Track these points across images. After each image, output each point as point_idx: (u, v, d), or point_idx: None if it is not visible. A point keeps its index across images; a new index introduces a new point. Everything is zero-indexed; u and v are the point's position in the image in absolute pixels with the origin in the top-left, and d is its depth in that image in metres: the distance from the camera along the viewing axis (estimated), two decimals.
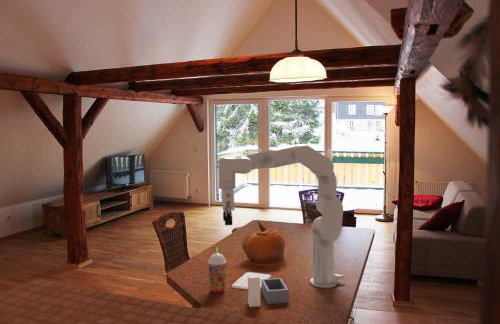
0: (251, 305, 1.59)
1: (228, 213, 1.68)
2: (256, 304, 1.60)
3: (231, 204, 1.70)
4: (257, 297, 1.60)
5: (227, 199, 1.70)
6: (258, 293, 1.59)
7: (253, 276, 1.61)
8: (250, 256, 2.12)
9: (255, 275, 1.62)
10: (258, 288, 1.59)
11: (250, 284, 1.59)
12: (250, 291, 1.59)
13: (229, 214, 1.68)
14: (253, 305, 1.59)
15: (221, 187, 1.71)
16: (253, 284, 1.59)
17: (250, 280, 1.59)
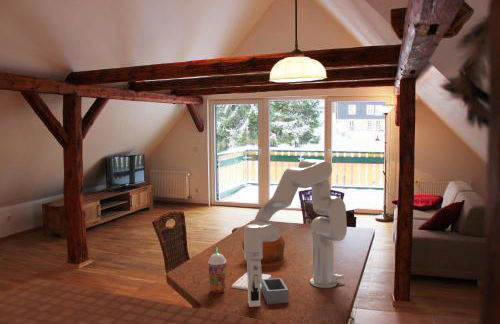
0: (251, 305, 1.59)
1: (254, 289, 1.57)
2: (256, 304, 1.60)
3: (258, 281, 1.56)
4: None
5: (254, 272, 1.56)
6: None
7: None
8: None
9: None
10: None
11: (250, 284, 1.59)
12: (250, 291, 1.59)
13: (256, 290, 1.57)
14: (253, 305, 1.59)
15: (247, 258, 1.58)
16: None
17: None
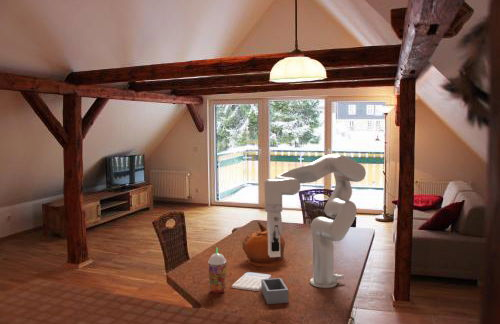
0: (271, 255, 1.66)
1: (275, 239, 1.63)
2: (276, 255, 1.66)
3: (279, 231, 1.63)
4: None
5: (275, 223, 1.62)
6: None
7: None
8: (250, 256, 2.12)
9: None
10: None
11: (271, 235, 1.65)
12: (270, 242, 1.65)
13: (276, 240, 1.63)
14: (273, 256, 1.66)
15: (268, 210, 1.64)
16: None
17: None
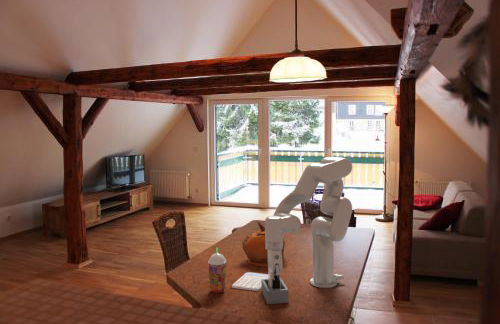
0: None
1: (276, 277, 1.63)
2: None
3: (279, 268, 1.64)
4: None
5: (275, 261, 1.63)
6: None
7: None
8: (250, 256, 2.12)
9: None
10: None
11: (271, 275, 1.66)
12: (271, 282, 1.66)
13: (277, 278, 1.63)
14: None
15: (269, 248, 1.65)
16: None
17: (271, 272, 1.66)
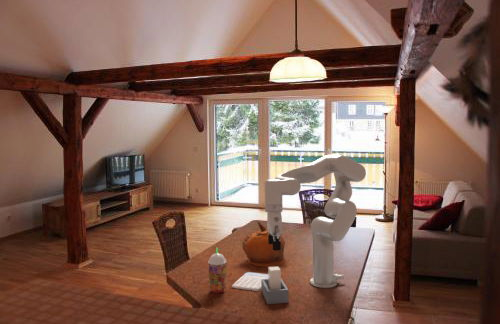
0: None
1: (277, 238, 1.60)
2: None
3: (279, 228, 1.63)
4: (278, 288, 1.67)
5: (275, 223, 1.62)
6: (279, 285, 1.67)
7: (274, 268, 1.68)
8: (250, 256, 2.12)
9: (276, 268, 1.69)
10: (279, 280, 1.67)
11: (271, 276, 1.66)
12: (271, 282, 1.66)
13: (278, 239, 1.61)
14: None
15: (268, 210, 1.64)
16: (274, 276, 1.66)
17: (271, 272, 1.66)
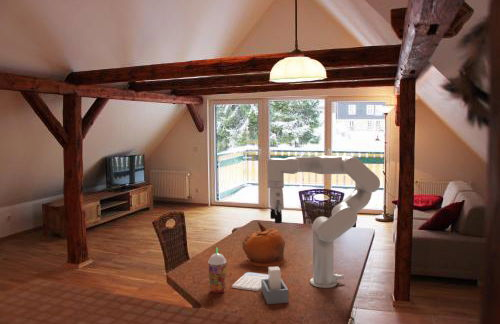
0: None
1: (278, 212, 1.74)
2: None
3: (281, 203, 1.76)
4: (278, 288, 1.67)
5: (277, 198, 1.76)
6: (279, 285, 1.67)
7: (274, 268, 1.68)
8: (250, 256, 2.12)
9: (276, 268, 1.69)
10: (279, 280, 1.67)
11: (271, 276, 1.66)
12: (271, 282, 1.66)
13: (279, 212, 1.75)
14: None
15: (271, 186, 1.78)
16: (274, 276, 1.66)
17: (271, 272, 1.66)
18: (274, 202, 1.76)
